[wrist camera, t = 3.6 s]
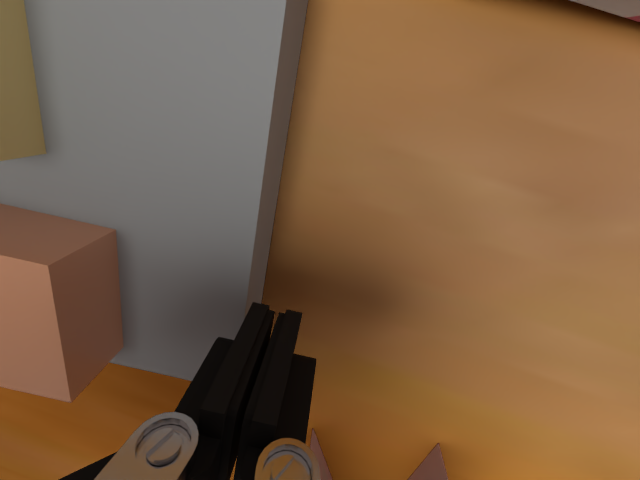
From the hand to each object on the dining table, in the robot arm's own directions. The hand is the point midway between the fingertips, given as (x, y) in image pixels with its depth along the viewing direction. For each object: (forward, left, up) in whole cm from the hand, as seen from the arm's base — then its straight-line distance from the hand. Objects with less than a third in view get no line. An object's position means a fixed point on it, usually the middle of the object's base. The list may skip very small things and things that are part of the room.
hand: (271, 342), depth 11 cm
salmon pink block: (0, +8, -1) cm, 8 cm away
